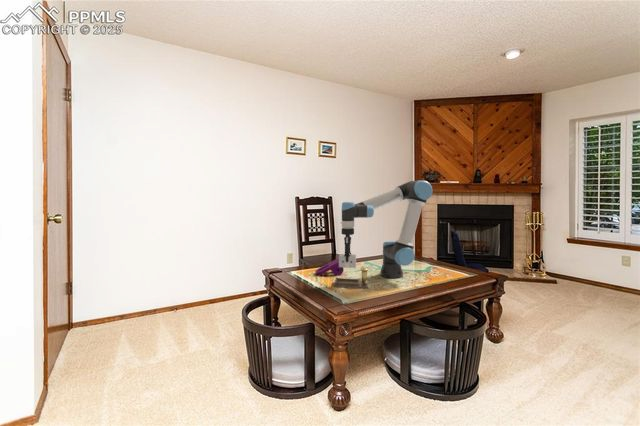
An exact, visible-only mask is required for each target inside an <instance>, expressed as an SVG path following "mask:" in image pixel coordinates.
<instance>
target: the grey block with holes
mask: <svg viewBox="0 0 640 426" xmlns="http://www.w3.org/2000/svg"><path fill="white" fill-rule="evenodd" d="M344 255H345V253H339V255H338V260H339V267H343V268H346V269H347V268H348V269H350V268H352V269H356V267H357V254H353V253H351V254H349V256H350V260H349V267H345V256H344Z"/></svg>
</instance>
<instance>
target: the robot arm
mask: <svg viewBox="0 0 640 426" xmlns="http://www.w3.org/2000/svg"><path fill="white" fill-rule="evenodd" d="M432 196H433V187H432V185H431V183H430V182H428V181H427V180H410V181H407V182H405V183H402V184H400V185H398V186H395V188H394V189H392V190H389V191H386V192H383V193H382V194H379V195H377V196H373V197H371V198H368V199H365V200H363V201H360V202H359V203H358V202H357V203H355V202H354V201H344V202H342V203H341V221H340V224H341V234H342V235H343V236H344V237H343V238H344V239H343V240H344V254H345V255H344V256H345V267H344V268H346V267H349V260H350V256H349V254H352V252H351V243H352V236H353V235H355V219H357V218H358V219H359V218H367V219H368V218H372V217H374V214H375V210H377V209H378V208H379V209H380V208H381V207H384V206H386V205H389V204H392V203H394V202H397V201H404V200H407V203H408V204H407V208H406V212H405V214H404V215H405V216H404V219H403V222H402V227H401V230H400V233H399V236H398V238H397V239H396V240H393V241H392V240H390V241H389V240H388V241H384V242H383V243H382V265H381V267H380V271H379V274H380V275H379V276H381V277H383V278H388V279H399V278H402V277H404V272H403V271H404V270H403V268H402V266H403V267H405V266H409V265H411V264H412V263H414V260H415V257H416V256H415V255H416V254H415V251H414V248H415V246H414V244H413V242H414V239H415V235H416V230H417V228H418V227H417V226H418V224H419V219H420V216H421V213H422V210H423V207H424V206H425V205H426V204H427V200H428V199H430V198H431V197H432Z"/></svg>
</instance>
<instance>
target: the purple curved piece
mask: <svg viewBox="0 0 640 426" xmlns="http://www.w3.org/2000/svg"><path fill="white" fill-rule="evenodd" d="M329 271H331V272H332V274H333V275H334V276H342V274H343V273H344V271H345V270H344V267H339V258H336V259H334V260H332V261H330V262H328V263H326V264H324V265H321V267H318V268H317V269H316V270H315V274H316V275H317V276H321V275H324V274H326V273H327V272H329Z"/></svg>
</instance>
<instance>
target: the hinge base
mask: <svg viewBox="0 0 640 426" xmlns="http://www.w3.org/2000/svg"><path fill="white" fill-rule="evenodd" d="M360 271H361V278H338V277H336V278H335V279H334V282H333V287H334V288H346V287H351V288H352V289H367V290H368V289H369V280H368V271H369V268H367V267H361V268H360ZM351 288H350V289H351Z"/></svg>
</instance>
